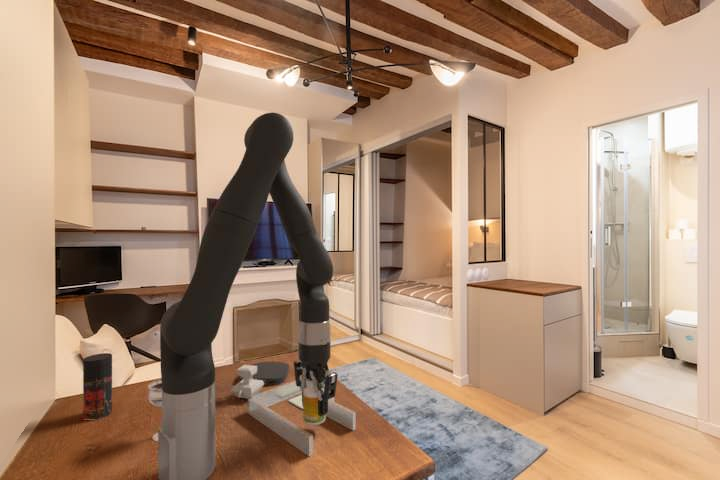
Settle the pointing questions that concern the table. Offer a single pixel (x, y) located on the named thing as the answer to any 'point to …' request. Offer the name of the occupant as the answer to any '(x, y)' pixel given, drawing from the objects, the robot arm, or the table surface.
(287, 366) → the media streaming box
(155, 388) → the wineglass
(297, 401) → the pad
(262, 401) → the channel
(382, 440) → the table surface
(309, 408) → the supplement bottle
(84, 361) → the deodorant
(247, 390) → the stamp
